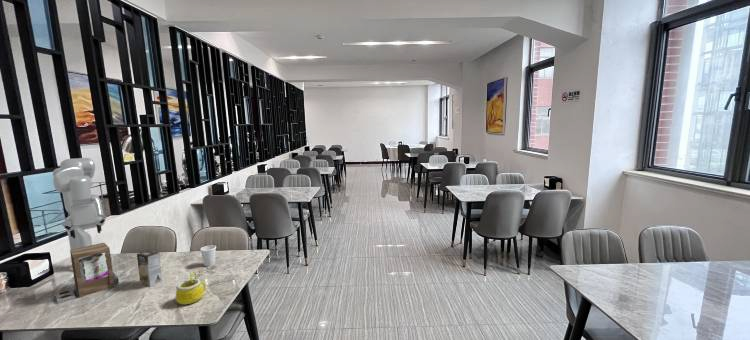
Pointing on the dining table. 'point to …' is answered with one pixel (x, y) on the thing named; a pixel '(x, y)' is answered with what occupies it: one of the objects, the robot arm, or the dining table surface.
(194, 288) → the yellow potted plant
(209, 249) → the dixie cup
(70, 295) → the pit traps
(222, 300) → the dining table surface
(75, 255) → the tunnel
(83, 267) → the candy bar box
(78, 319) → the dining table surface
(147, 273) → the coffee box
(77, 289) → the slider
